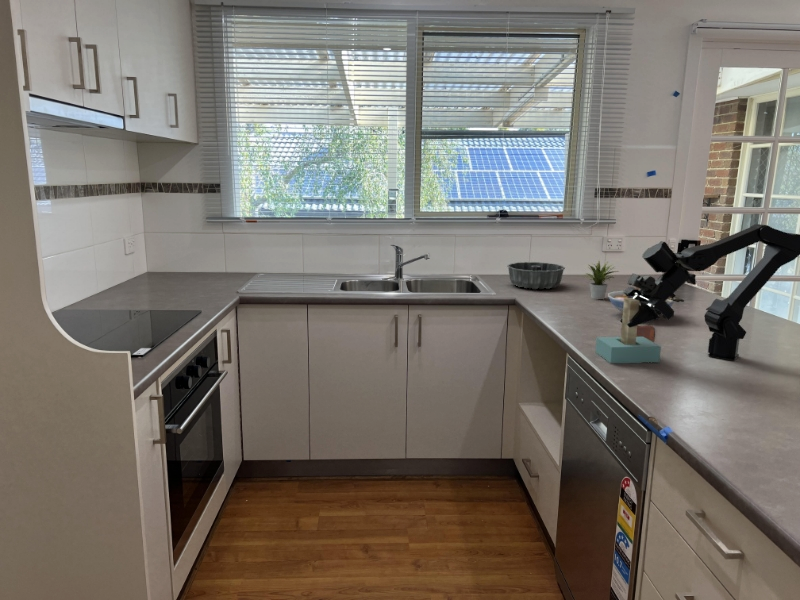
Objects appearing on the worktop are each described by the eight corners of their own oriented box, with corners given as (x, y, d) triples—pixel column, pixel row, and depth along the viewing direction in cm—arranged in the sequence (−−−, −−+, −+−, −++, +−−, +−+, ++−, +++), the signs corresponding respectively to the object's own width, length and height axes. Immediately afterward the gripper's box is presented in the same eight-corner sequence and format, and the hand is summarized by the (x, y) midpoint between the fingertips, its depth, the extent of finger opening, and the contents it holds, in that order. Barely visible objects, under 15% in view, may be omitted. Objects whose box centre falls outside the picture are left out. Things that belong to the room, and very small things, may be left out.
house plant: (603, 304, 226) (607, 263, 223) (573, 298, 236) (576, 260, 233) (621, 299, 236) (624, 260, 232) (591, 294, 246) (594, 257, 242)
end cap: (595, 352, 161) (596, 337, 160) (641, 351, 162) (642, 336, 161) (610, 363, 151) (611, 347, 150) (659, 362, 152) (660, 346, 151)
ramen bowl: (592, 310, 215) (594, 289, 214) (645, 307, 220) (647, 287, 218) (631, 325, 191) (633, 302, 190) (690, 322, 196) (692, 299, 194)
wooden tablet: (621, 326, 193) (622, 321, 193) (653, 329, 190) (654, 324, 189) (618, 346, 170) (618, 340, 169) (654, 349, 166) (654, 344, 165)
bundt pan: (563, 293, 249) (565, 271, 247) (503, 290, 256) (504, 268, 254) (563, 283, 274) (565, 263, 272) (509, 280, 281) (510, 261, 279)
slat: (620, 346, 158) (624, 298, 155) (628, 346, 158) (632, 298, 155) (626, 351, 154) (630, 301, 151) (634, 350, 154) (639, 301, 151)
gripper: (632, 259, 160) (592, 297, 162) (667, 268, 142) (621, 311, 144) (657, 286, 163) (617, 323, 164) (693, 298, 144) (648, 341, 146)
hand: (624, 324), depth 154 cm, fingers closed on slat, 4 cm apart
